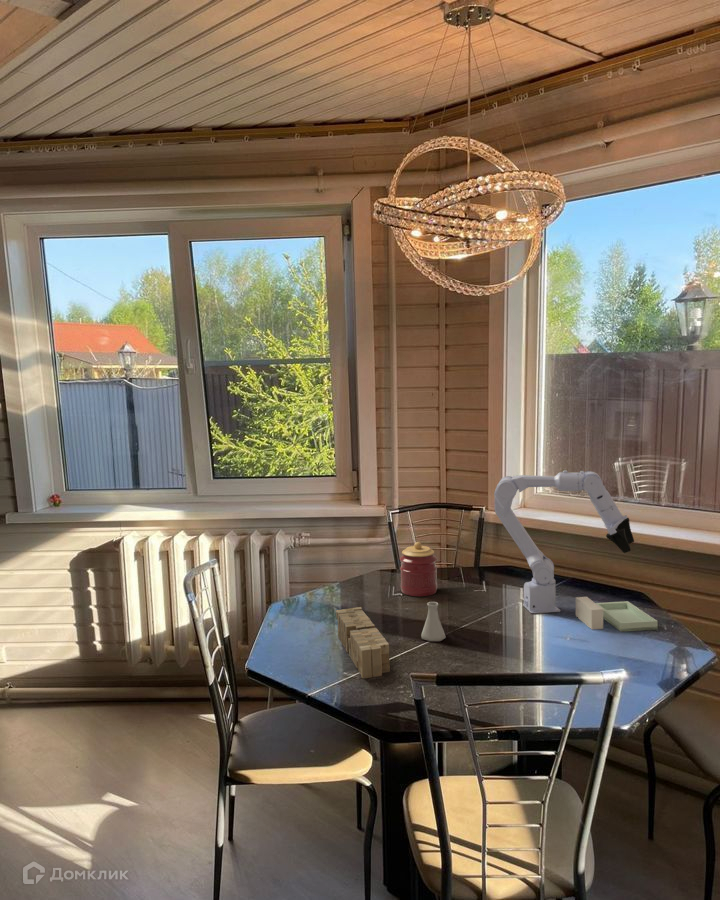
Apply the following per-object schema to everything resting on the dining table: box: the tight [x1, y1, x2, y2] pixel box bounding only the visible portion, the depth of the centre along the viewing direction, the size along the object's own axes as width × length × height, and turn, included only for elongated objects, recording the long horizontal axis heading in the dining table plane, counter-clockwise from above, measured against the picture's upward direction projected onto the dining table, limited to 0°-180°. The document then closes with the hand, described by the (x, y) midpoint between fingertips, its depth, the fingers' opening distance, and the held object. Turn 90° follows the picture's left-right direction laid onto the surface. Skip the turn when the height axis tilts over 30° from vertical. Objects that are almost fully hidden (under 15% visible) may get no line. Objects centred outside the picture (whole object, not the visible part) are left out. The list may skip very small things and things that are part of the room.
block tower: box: [335, 606, 391, 679], centre depth 171 cm, size 8×8×29 cm
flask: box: [420, 601, 447, 642], centre depth 180 cm, size 7×7×10 cm
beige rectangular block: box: [575, 596, 604, 630], centre depth 188 cm, size 4×11×6 cm, turn 4°
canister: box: [399, 541, 438, 597], centre depth 221 cm, size 13×13×18 cm
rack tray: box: [596, 600, 659, 633], centre depth 189 cm, size 11×17×2 cm, turn 5°
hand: (629, 547), depth 191 cm, fingers open, 7 cm apart
